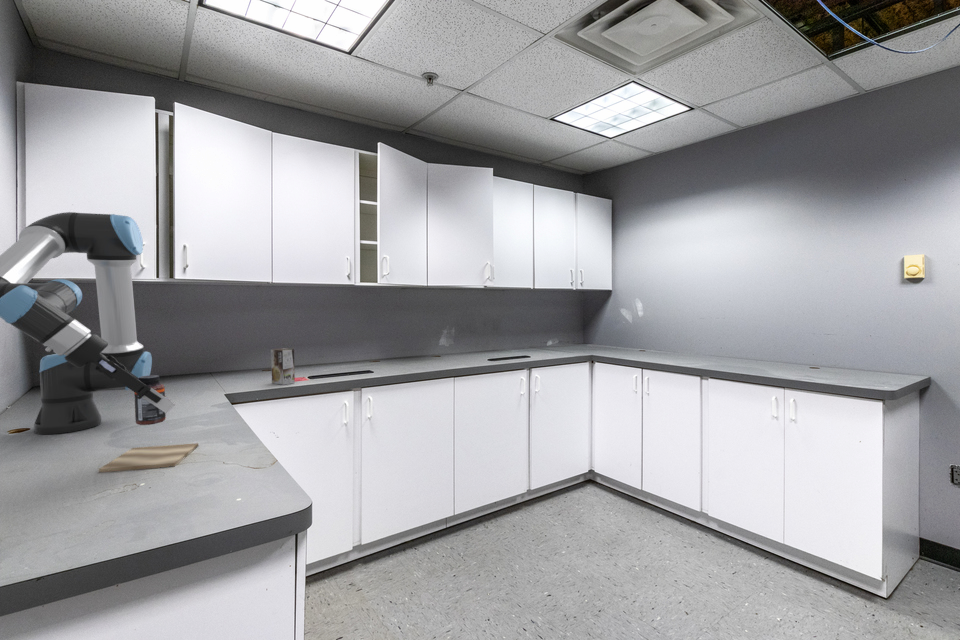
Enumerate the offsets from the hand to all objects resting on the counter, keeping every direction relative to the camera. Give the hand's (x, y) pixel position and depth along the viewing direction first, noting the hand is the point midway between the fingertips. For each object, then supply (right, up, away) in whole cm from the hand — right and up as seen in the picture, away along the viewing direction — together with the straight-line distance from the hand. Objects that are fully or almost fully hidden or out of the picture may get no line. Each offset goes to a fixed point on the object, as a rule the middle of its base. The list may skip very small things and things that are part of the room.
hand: (168, 406), depth 112 cm
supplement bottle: (-3, -4, -2) cm, 5 cm away
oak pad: (-3, -12, -2) cm, 13 cm away
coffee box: (-15, -8, +100) cm, 101 cm away
